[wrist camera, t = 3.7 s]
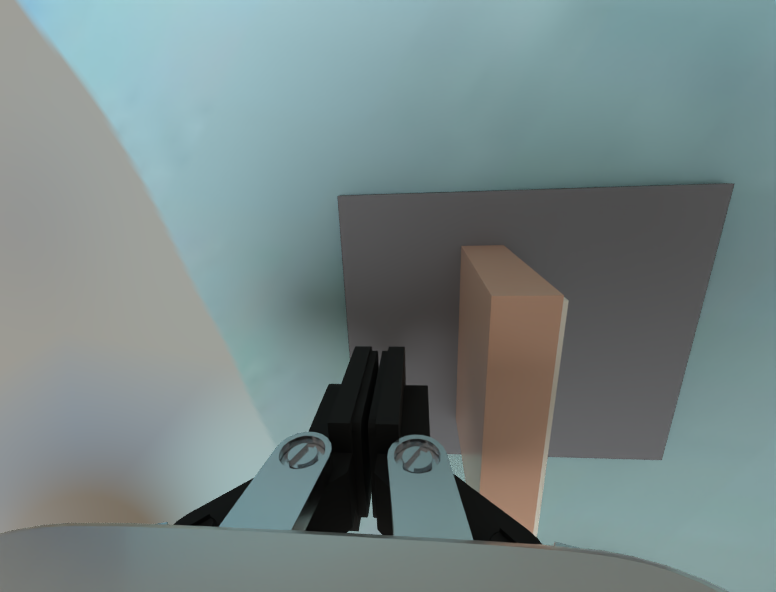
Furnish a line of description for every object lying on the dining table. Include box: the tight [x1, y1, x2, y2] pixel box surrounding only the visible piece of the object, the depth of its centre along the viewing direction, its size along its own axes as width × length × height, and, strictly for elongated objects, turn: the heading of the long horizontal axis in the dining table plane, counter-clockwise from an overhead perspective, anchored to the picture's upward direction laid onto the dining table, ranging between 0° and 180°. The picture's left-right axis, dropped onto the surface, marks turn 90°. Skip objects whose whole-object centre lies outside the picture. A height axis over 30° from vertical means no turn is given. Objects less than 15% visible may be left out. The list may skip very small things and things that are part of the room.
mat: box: [338, 183, 734, 460], centre depth 15 cm, size 14×12×1 cm
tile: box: [456, 245, 569, 537], centre depth 12 cm, size 2×8×6 cm, turn 2°
